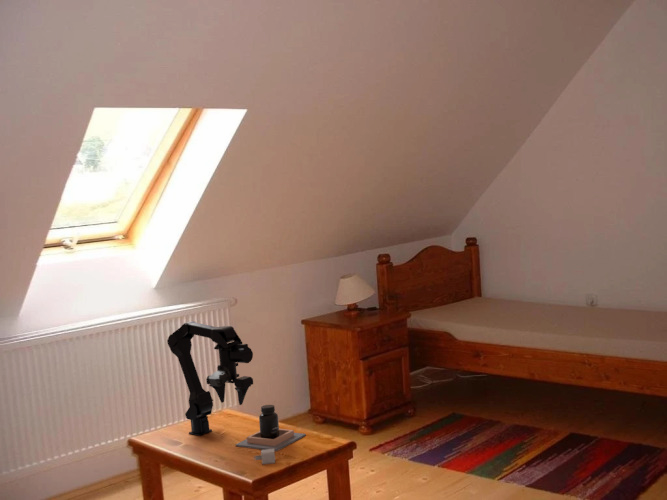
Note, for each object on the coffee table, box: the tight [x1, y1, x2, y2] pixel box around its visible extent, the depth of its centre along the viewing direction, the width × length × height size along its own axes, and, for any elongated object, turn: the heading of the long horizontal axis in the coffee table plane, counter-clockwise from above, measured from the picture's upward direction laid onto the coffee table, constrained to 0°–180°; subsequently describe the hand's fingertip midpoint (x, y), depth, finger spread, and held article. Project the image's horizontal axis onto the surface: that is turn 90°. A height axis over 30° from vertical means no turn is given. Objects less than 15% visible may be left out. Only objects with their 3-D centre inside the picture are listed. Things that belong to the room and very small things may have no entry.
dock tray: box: [235, 428, 306, 452], centre depth 285 cm, size 18×18×3 cm
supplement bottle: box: [258, 404, 280, 439], centre depth 285 cm, size 7×7×12 cm
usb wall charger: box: [253, 449, 276, 466], centre depth 262 cm, size 4×7×4 cm, turn 95°
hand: (231, 403), depth 291 cm, fingers open, 9 cm apart
